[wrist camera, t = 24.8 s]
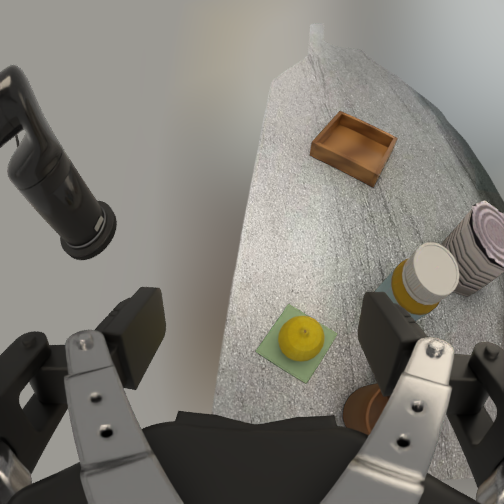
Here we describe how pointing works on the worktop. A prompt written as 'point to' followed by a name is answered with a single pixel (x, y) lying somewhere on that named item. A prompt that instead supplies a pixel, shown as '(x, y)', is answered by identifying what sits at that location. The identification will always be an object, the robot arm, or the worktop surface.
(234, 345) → the worktop surface
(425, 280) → the bottle
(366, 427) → the mug
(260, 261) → the worktop surface
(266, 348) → the mat
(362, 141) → the crate
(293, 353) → the fruit
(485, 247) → the can
